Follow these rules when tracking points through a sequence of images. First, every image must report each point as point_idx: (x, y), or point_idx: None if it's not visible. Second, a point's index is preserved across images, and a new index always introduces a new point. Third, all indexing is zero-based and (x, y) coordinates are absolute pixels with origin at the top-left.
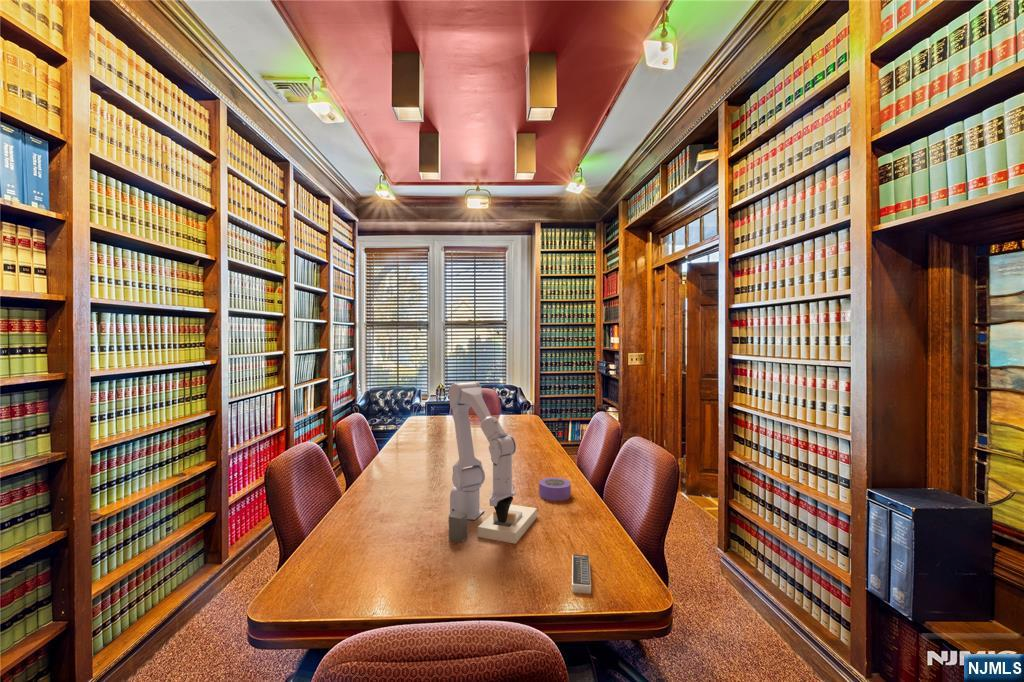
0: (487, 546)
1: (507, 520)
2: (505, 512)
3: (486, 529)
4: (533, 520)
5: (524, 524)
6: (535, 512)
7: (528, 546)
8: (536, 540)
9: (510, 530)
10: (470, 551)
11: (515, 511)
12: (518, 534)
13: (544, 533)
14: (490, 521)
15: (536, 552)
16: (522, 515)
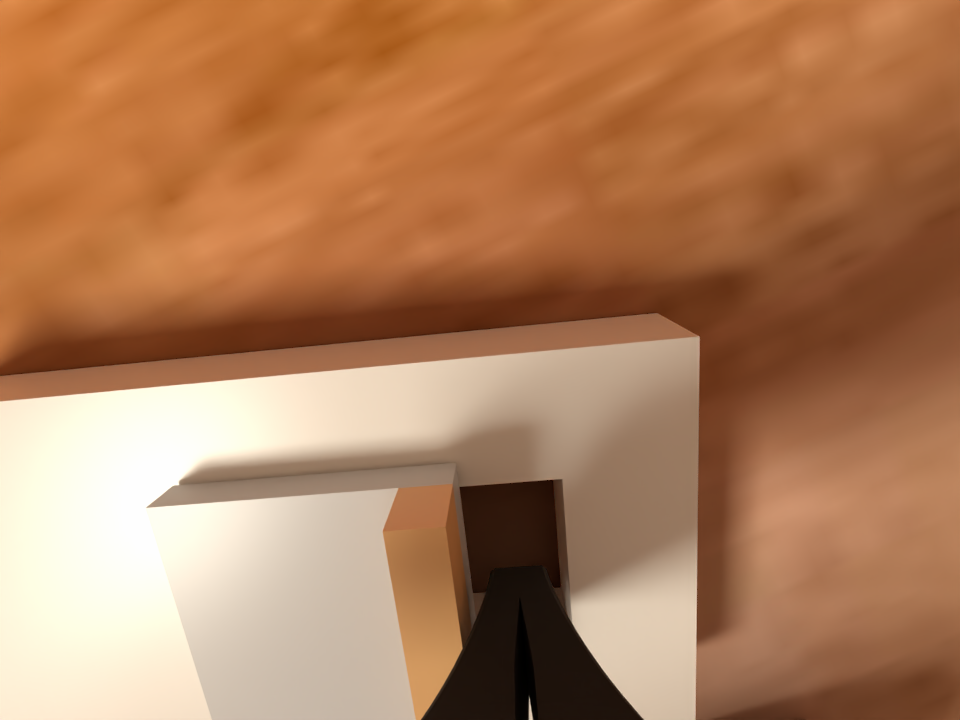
0: (803, 518)
1: (465, 564)
2: (601, 672)
3: (690, 660)
4: (88, 370)
5: (365, 362)
6: None
7: (662, 161)
8: (490, 140)
9: (649, 428)
10: (937, 595)
11: (187, 587)
12: (582, 334)
13: (284, 129)
14: None
15: (769, 6)
16: (175, 481)
